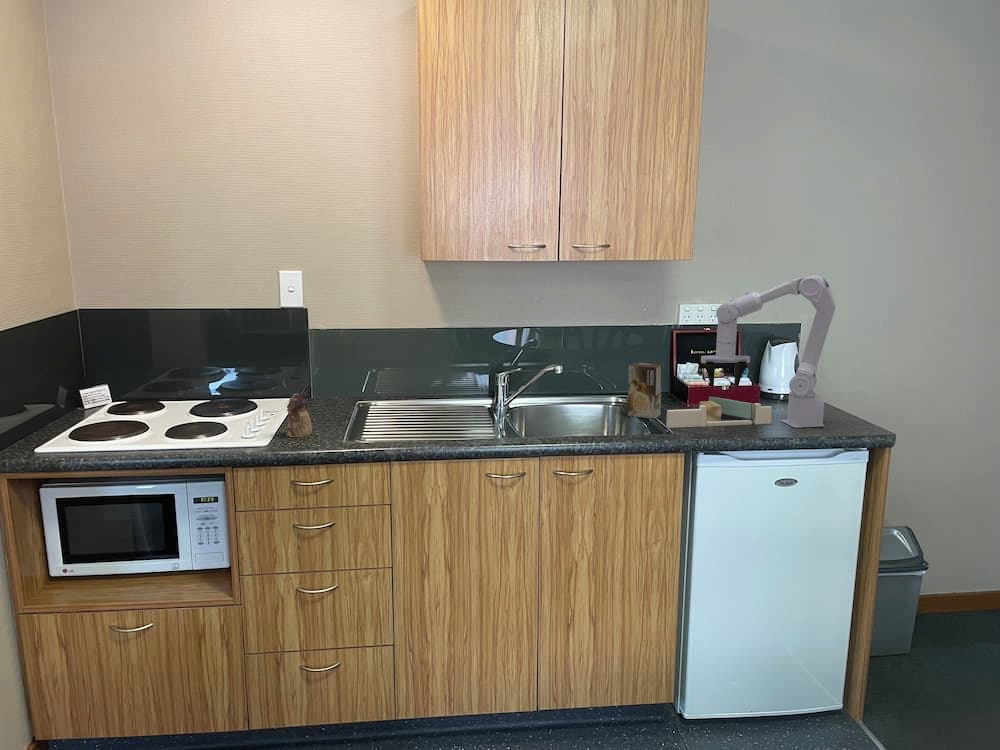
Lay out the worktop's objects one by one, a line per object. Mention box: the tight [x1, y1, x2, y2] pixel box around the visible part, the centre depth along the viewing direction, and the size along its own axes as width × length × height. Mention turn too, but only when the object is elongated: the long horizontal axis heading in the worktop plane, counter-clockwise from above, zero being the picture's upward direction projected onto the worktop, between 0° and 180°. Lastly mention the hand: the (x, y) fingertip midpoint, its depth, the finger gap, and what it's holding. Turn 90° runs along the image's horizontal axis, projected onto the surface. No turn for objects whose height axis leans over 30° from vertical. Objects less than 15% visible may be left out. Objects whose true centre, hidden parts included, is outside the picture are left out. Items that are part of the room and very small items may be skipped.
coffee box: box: [627, 362, 663, 419], centre depth 241 cm, size 9×6×16 cm
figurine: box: [286, 392, 313, 438], centre depth 221 cm, size 7×7×12 cm
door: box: [708, 396, 755, 420], centre depth 236 cm, size 15×1×4 cm, turn 46°
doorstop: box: [698, 400, 722, 422], centre depth 237 cm, size 4×7×5 cm, turn 8°
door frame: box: [666, 402, 773, 429], centre depth 230 cm, size 32×2×6 cm, turn 98°
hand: (724, 385), depth 240 cm, fingers open, 7 cm apart
